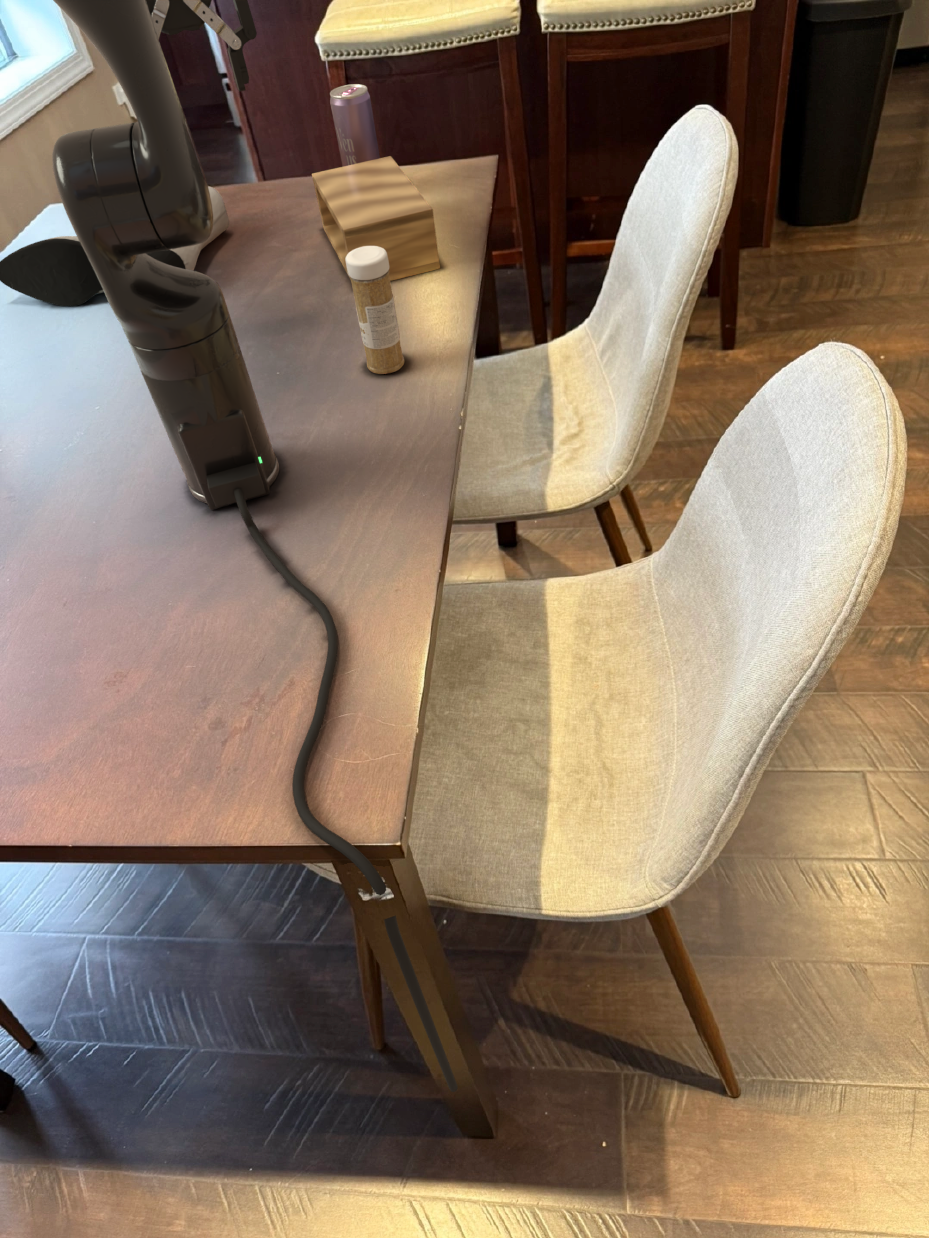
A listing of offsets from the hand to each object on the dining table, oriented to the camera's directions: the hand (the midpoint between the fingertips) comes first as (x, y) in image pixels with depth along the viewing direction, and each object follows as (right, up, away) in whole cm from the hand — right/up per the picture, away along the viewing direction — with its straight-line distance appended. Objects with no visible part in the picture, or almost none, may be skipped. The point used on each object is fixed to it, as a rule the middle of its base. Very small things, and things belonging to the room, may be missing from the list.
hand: (202, 97), depth 93 cm
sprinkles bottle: (+19, -26, +9) cm, 34 cm away
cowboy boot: (-22, -3, +36) cm, 42 cm away
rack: (+16, -3, +32) cm, 35 cm away
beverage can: (+13, +12, +46) cm, 49 cm away
